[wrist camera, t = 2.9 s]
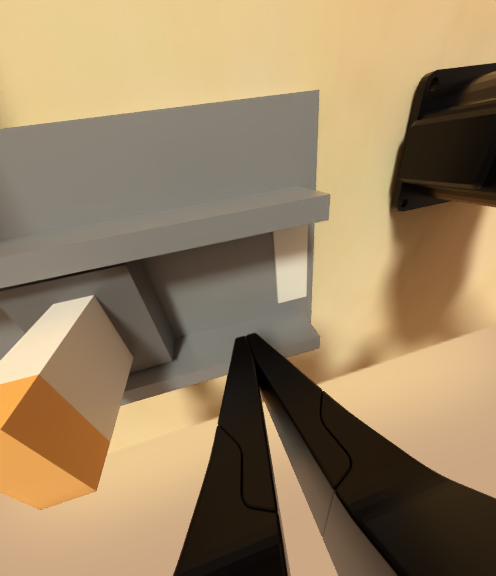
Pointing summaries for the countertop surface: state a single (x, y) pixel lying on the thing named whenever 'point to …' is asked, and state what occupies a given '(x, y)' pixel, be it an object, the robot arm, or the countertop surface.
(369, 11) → the countertop surface
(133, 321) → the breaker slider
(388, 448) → the robot arm
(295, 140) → the housing
